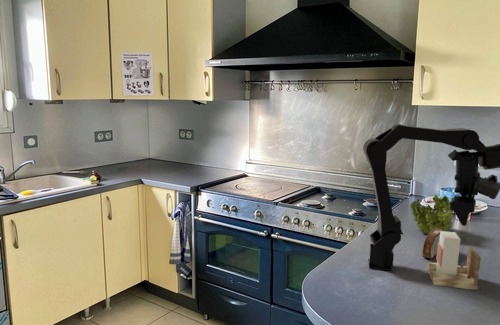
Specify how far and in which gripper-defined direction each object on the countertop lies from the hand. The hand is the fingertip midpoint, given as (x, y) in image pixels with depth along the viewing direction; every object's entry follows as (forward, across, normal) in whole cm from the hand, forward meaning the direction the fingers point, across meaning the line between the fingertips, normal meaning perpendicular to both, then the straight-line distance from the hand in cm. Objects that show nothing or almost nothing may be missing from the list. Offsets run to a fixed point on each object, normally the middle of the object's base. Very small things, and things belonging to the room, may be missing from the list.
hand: (466, 217), depth 126 cm
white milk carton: (+10, -16, +3) cm, 19 cm away
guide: (+12, -16, +2) cm, 20 cm away
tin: (+16, 0, +10) cm, 19 cm away
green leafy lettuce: (+23, +23, +16) cm, 36 cm away
